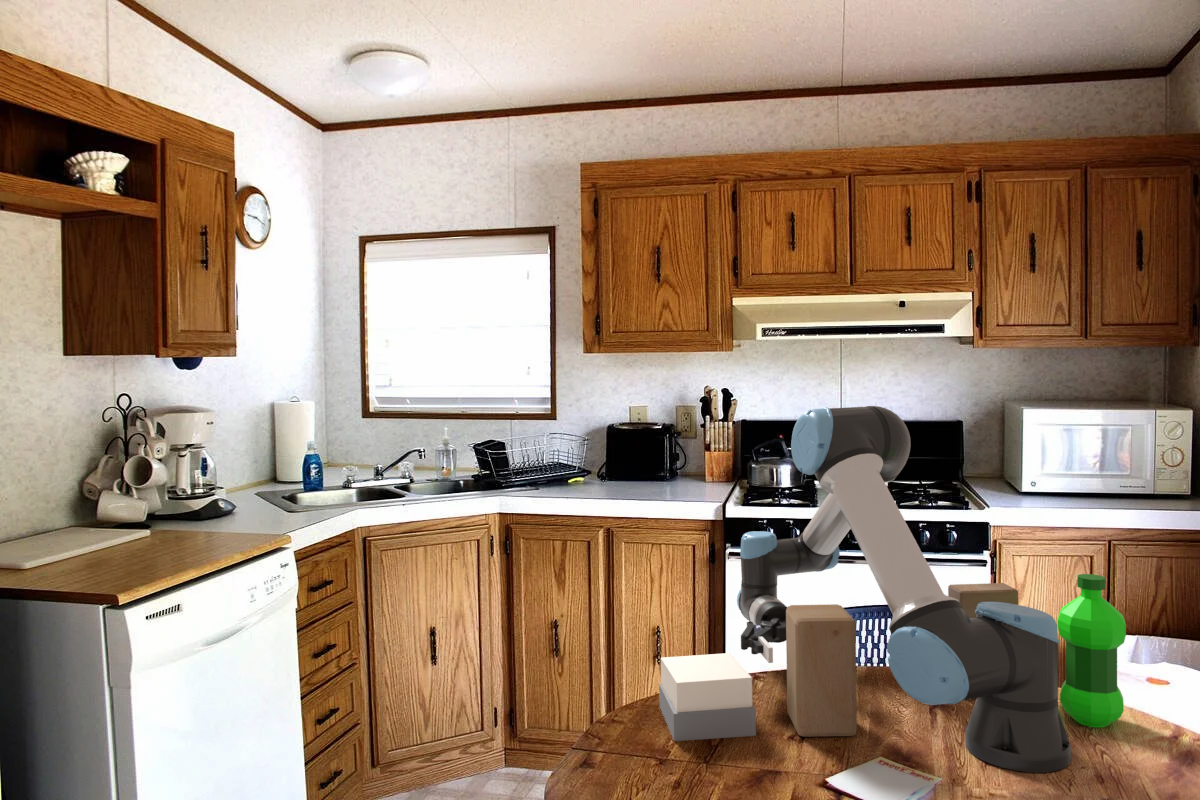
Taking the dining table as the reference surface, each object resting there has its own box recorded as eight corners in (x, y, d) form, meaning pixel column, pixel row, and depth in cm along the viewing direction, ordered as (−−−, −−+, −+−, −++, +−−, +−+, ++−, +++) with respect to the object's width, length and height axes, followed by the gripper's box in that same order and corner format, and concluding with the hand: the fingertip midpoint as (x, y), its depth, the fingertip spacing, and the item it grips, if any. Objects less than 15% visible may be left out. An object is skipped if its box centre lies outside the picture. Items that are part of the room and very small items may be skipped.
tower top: (752, 706, 147) (751, 677, 146) (677, 712, 145) (676, 682, 145) (730, 679, 159) (730, 653, 159) (661, 684, 158) (660, 657, 158)
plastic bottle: (1115, 739, 141) (1115, 587, 140) (1047, 720, 149) (1046, 577, 148) (1135, 721, 148) (1136, 576, 147) (1069, 704, 156) (1069, 567, 155)
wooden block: (858, 738, 144) (857, 619, 143) (798, 739, 144) (796, 620, 143) (842, 714, 154) (841, 602, 153) (786, 714, 154) (784, 603, 153)
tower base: (756, 738, 146) (755, 708, 146) (674, 743, 144) (673, 714, 144) (734, 706, 160) (734, 679, 160) (659, 711, 158) (659, 683, 158)
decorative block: (960, 699, 159) (960, 591, 159) (947, 687, 165) (946, 584, 164) (1020, 697, 160) (1019, 590, 159) (1005, 686, 165) (1004, 582, 165)
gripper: (832, 634, 177) (875, 670, 155) (712, 640, 174) (739, 678, 153) (832, 597, 176) (875, 628, 155) (711, 603, 174) (739, 636, 153)
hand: (808, 653), depth 154 cm, fingers open, 13 cm apart
